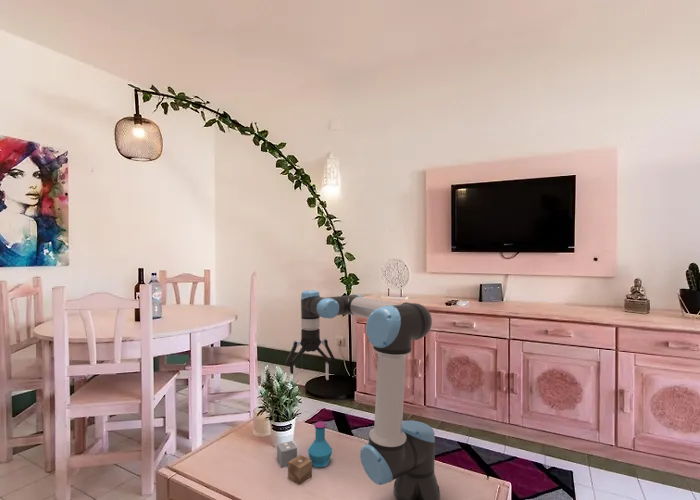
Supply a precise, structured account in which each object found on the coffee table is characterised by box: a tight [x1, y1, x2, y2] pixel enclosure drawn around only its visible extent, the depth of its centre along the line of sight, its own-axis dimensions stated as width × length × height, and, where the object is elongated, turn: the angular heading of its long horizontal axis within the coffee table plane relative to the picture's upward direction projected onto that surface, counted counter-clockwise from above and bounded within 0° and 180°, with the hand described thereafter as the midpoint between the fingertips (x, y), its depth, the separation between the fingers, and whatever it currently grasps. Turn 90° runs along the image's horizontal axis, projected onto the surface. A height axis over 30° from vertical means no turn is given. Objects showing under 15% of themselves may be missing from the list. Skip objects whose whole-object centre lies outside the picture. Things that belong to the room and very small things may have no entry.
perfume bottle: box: [307, 420, 333, 468], centre depth 144 cm, size 9×9×15 cm
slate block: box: [276, 440, 298, 468], centre depth 145 cm, size 6×6×6 cm
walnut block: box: [287, 454, 313, 486], centre depth 135 cm, size 6×6×6 cm
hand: (310, 380), depth 154 cm, fingers open, 13 cm apart
